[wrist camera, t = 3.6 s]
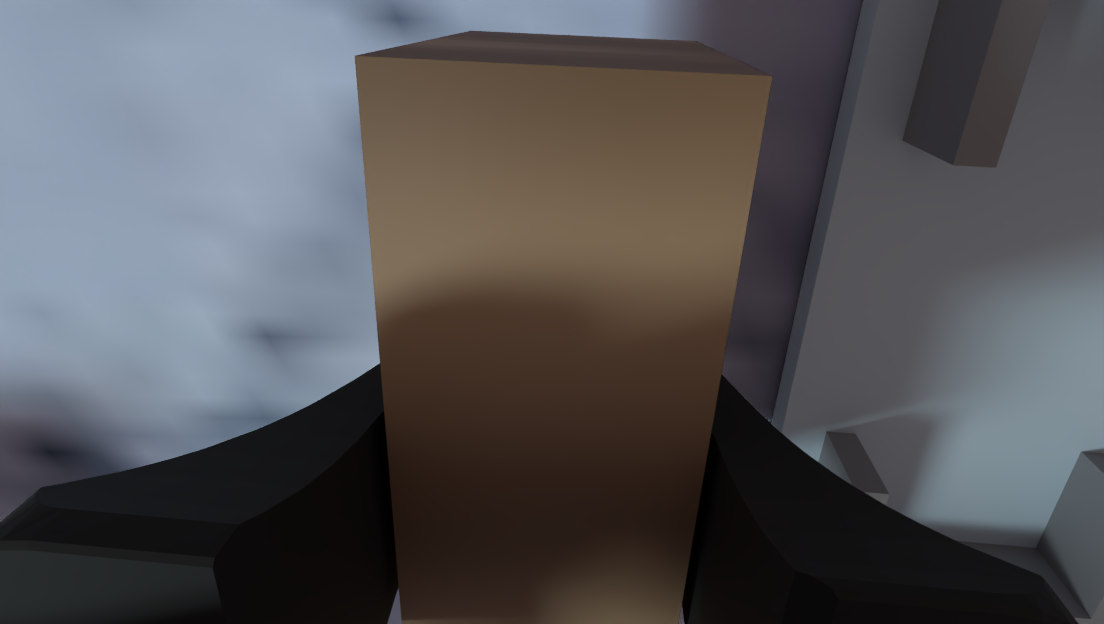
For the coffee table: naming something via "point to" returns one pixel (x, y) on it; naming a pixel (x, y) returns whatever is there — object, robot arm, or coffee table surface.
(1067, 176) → the board
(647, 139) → the tan wooden block
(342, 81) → the coffee table surface
